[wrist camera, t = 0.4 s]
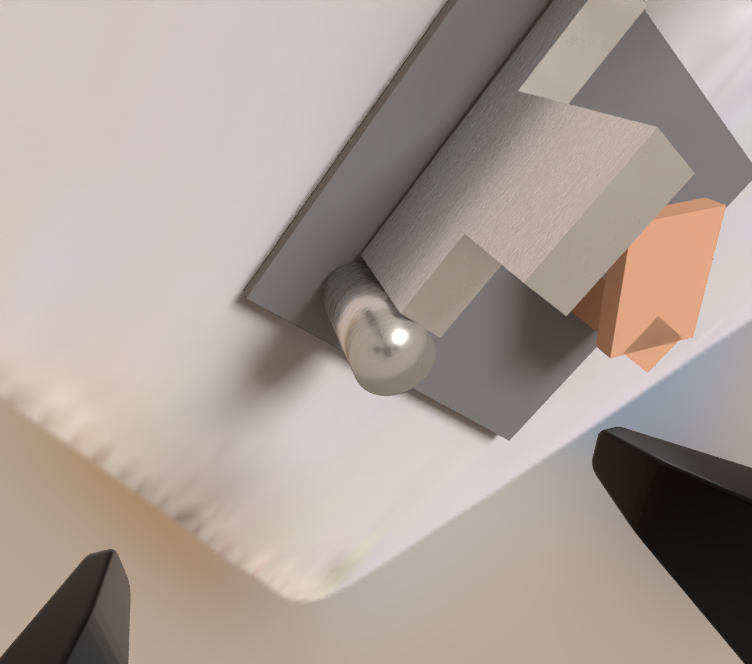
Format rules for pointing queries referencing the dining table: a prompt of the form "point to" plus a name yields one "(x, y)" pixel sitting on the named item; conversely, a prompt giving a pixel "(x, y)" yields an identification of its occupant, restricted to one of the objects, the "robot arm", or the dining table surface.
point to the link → (508, 201)
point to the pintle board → (503, 290)
